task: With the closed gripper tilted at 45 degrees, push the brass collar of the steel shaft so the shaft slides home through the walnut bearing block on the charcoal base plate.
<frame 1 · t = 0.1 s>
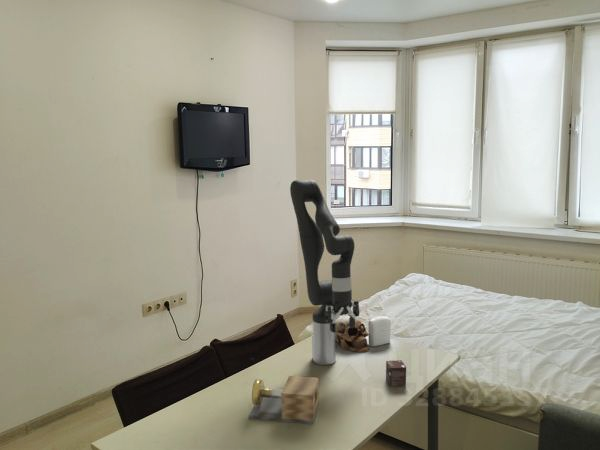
hand: (342, 329, 182), 17 cm above the table, tool pointing down, fingers open, 8 cm apart
photo printer: (379, 344, 212), on the table
shaft: (279, 393, 157), point 6 cm above the table, slide at -7.0 cm
box: (395, 383, 176), on the table
skull: (351, 345, 212), on the table
bearing block: (301, 412, 157), on the table
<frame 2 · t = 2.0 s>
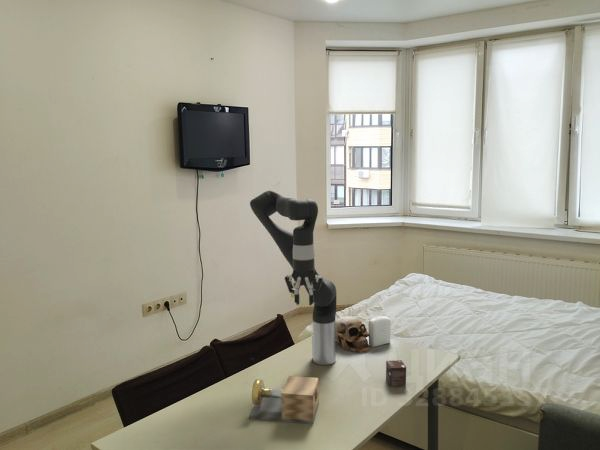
hand: (304, 304, 169), 31 cm above the table, tool pointing down, fingers open, 4 cm apart
photo printer: (379, 344, 212), on the table, touching skull
skull: (352, 345, 212), on the table, touching photo printer
everything else where it was.
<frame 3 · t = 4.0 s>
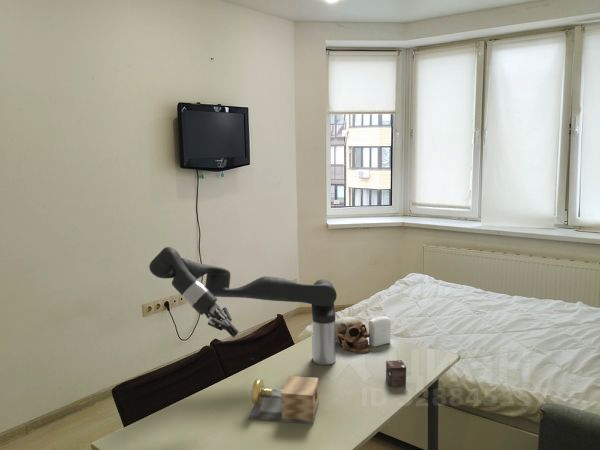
hand: (236, 334, 159), 25 cm above the table, tool tilted 45°, fingers closed
photo printer: (379, 344, 212), on the table
skull: (352, 346, 211), on the table
everything else where it was.
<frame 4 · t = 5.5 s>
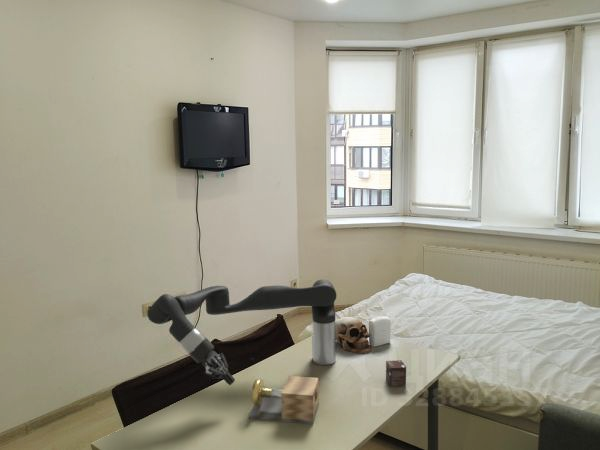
hand: (232, 382, 159), 9 cm above the table, tool tilted 45°, fingers closed
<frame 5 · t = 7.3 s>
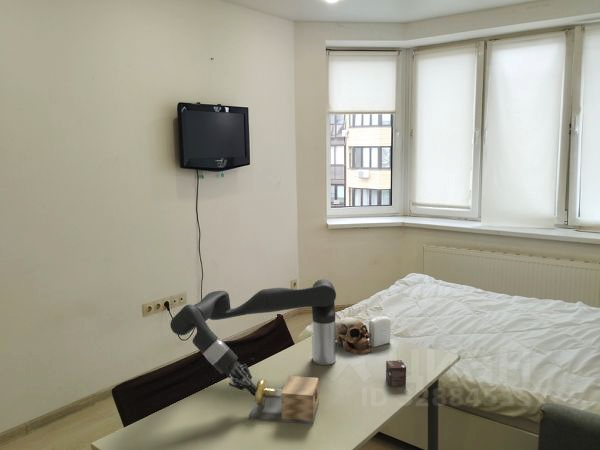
hand: (256, 393, 158), 6 cm above the table, tool tilted 45°, fingers closed
shaft: (282, 394, 157), point 6 cm above the table, slide at -5.8 cm, touching gripper
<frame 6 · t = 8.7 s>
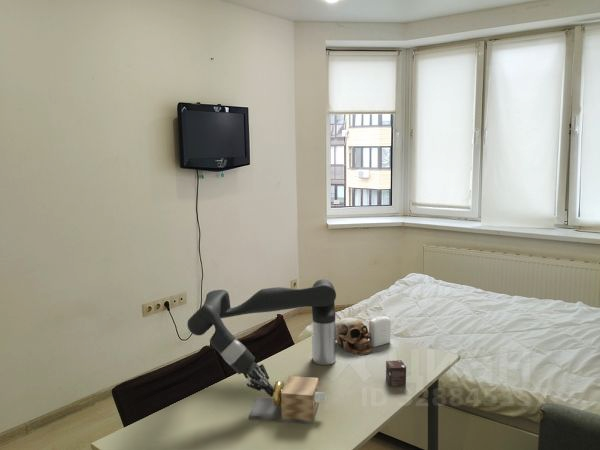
hand: (274, 394, 157), 6 cm above the table, tool tilted 45°, fingers closed
shaft: (300, 395, 156), point 6 cm above the table, slide at 0.1 cm, touching gripper
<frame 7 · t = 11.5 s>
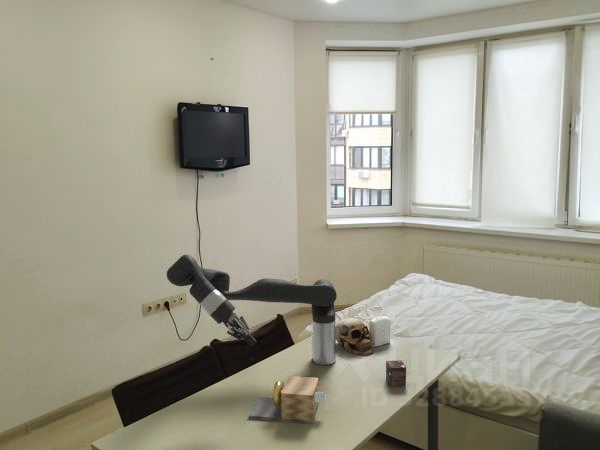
hand: (254, 344, 157), 22 cm above the table, tool tilted 45°, fingers closed
shaft: (300, 395, 156), point 6 cm above the table, slide at 0.0 cm
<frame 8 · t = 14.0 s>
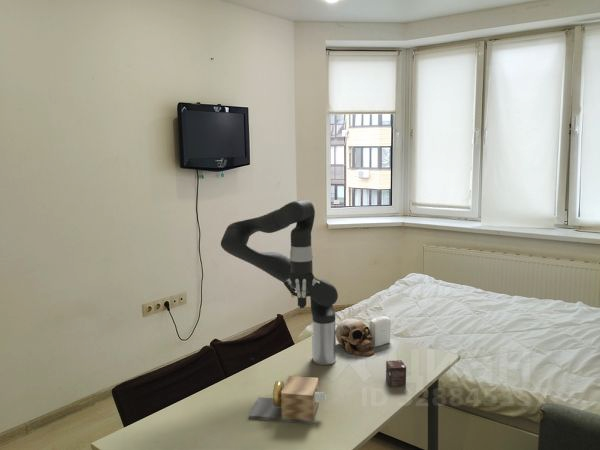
hand: (302, 307, 167), 31 cm above the table, tool pointing down, fingers closed
at the end: shaft slide at 0.0 cm; the gripper is holding nothing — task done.
